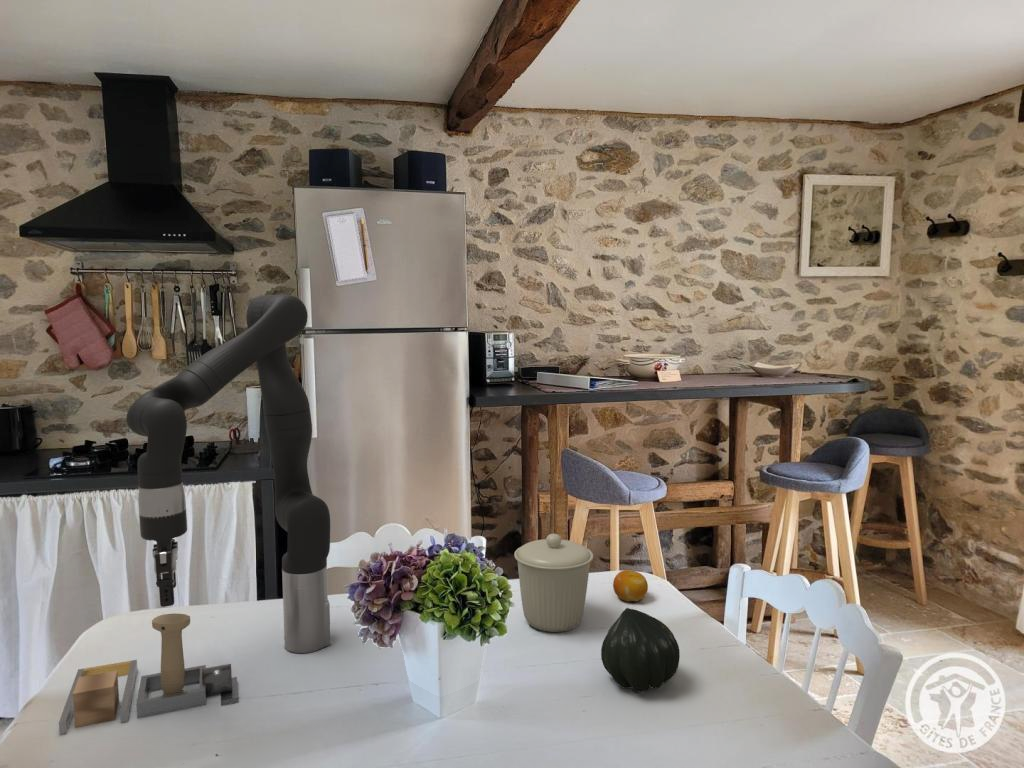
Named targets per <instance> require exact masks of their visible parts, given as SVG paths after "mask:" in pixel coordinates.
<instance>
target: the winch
mask: <svg viewBox="0 0 1024 768" xmlns="http://www.w3.org/2000/svg"><path fill="white" fill-rule="evenodd" d="M232 675H233V674H232V663H227V664H220V665H217V666H210V667H207V665H206V664H203V665H198V666H192V667H186V668H185V676H184V686H187V685H191V684H192V685H193V684H197V683H199V685H198V687H199V688H197V689H191V690H187V691H184V692H180V693H175V694H169V695H164V696H163V695H159V696H155V697H148V693H149V692H153V691H154V692H155V691H158V690H159V691H160V690H163V689H162V683H161V672H158V673H152V674H147V675H146V674H145V675H141V676H140V684H139V688H138V692H137V693H138V694H137V698H136V718H137V719H141V718H146V717H152V716H157V715H162V714H165V713H166V714H167V713H172V712H177V711H181V710H182V711H183V710H186V709H187V710H188V709H192V708H198V707H202V706H206V705H207V697H208V696H213V695H218V694H219V695H220V706H221V707H222V706H227V705H230V704H231V705H232V704H237V703H239V702H240V701H239V700H240V699H239V687H238V685H239V684H238V676H233V677H232Z"/></svg>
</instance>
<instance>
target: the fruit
mask: <svg viewBox="0 0 1024 768" xmlns="http://www.w3.org/2000/svg"><path fill="white" fill-rule="evenodd" d="M613 578H614V579H613V583H612V587H613V591H614V594H615V595H617V597H618V598H619V599H620V600H622V601H624V600H625V602H628V601H635V602H639V601H641V600H642V599H643V598H644V597H645V596H646V595H647V592H648V590H649V585H648V580H647V579H646V577H645V576H644V575H643V574H642V573H641V572H638V571H635V570H631V569H630V570H629V569H626V570H625V569H624V570H622V571H619V572H618V573H617V574H616V575H615V577H613ZM638 600H639V601H638Z"/></svg>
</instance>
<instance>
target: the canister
mask: <svg viewBox="0 0 1024 768" xmlns="http://www.w3.org/2000/svg"><path fill="white" fill-rule="evenodd" d="M514 558H515V560H516V561H517V570H518V579H519V589H520V598H521V605H522V611H523V616H524V619H525V621H526V622H527V623H528V624H529V625H530V626H531V627H532V628H535V629H537V630H539V631H543V632H549V633H551V632H552V633H555V632H557V633H559V632H566V631H570V630H572V629H574V628H576V627H577V626H578V625H579V623H581V621H582V618H583V615H584V613H585V611H584V610H585V604H586V597H587V591H588V590H587V589H588V581H589V573H590V565H591V562H592V561H593V560H594V554H593V552H592V551H591V549H589V548H587V547H586V546H584V545H582V544H580V543H578V542H575V541H573V540H568V539H562V537H561V536H560V535H559V534H558V533H550V534H548V535H547V536H546V538H544V539H543V538H541V539H536V540H533V541H529V542H527V543H525V544H523V545H522V546H520V547H518V548H517V549H516V550H515V551H514Z"/></svg>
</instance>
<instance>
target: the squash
mask: <svg viewBox="0 0 1024 768" xmlns="http://www.w3.org/2000/svg"><path fill="white" fill-rule="evenodd" d="M601 644H602V645H601V650H600V653H601V654H600V655H601V662H602V666H603V667H604V669H605V670H606V671H607V673H608V674H609V676H611V677H612V679H613V681H615V683H616V684H617V685H618V686H620V687H621V688H623V687H624V689H628V688H627V687H631V689H632V690H633V691H634V692H635V693H636V692H637V693H643V692H646V691H647V690H648V687H650V688H651V689H659V688H661V686H663V683H666V682H669V681H670V680H671V679H672V678H673V677H674V676H675V674H676V673H677V671H678V668H679V664H680V657H681V656H680V653H681V651H680V646H679V643H678V642H677V639H676V637H675V635H674V633H673V632H672V631H671V629H670V628H669V627H668V626H667V625H666V624H665V623H663V622H662V621H661V620H660V619H658V618H655V617H653V616H652V615H650V614H648V613H645V612H643V611H640V610H637V609H635V608H629V607H626V608H625V609H624V610H623V611H622V612H621V614H620V615H619V616H618V617H617V619H616V620H615V621H614V622H613V623H612V625H610V627H609V629H608V631H607V634H606V636H604V639H603V641H602V643H601Z"/></svg>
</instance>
